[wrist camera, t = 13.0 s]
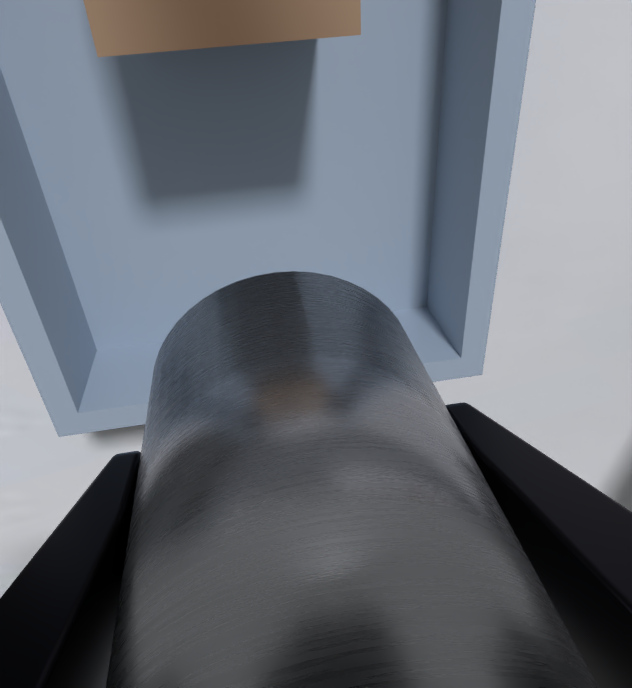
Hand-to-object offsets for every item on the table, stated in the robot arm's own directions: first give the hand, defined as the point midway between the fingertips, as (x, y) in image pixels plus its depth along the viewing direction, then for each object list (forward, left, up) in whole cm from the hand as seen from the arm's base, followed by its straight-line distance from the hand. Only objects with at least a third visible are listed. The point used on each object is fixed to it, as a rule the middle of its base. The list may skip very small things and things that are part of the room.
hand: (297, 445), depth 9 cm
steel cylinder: (0, 0, -2) cm, 2 cm away
